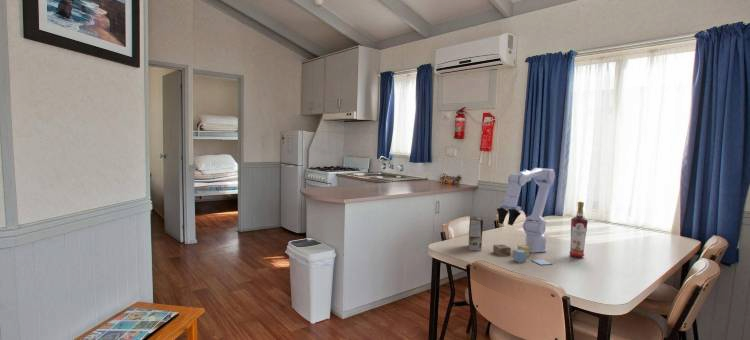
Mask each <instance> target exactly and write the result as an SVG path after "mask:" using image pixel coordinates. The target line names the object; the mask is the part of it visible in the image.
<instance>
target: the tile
mask: <svg viewBox="0 0 750 340" xmlns="http://www.w3.org/2000/svg"><path fill="white" fill-rule="evenodd" d="M530 261H531V262H533V263H534V264H537V265H539V266H551V265H553V264H554V263H551V262H549V261H547V260H545V259H543V258H542V259H531V260H530Z"/></svg>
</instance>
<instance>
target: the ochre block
mask: <svg viewBox="0 0 750 340" xmlns="http://www.w3.org/2000/svg"><path fill="white" fill-rule="evenodd" d="M517 250H524V251H526V252H527V258H528V257H530V252H529V251H530V247H529V246H526V244H518V245H517Z"/></svg>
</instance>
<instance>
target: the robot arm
mask: <svg viewBox="0 0 750 340" xmlns="http://www.w3.org/2000/svg"><path fill="white" fill-rule="evenodd" d="M555 178H556V173H555V170H554V169H553V168H541V167H533V168H532V169H531V170H527V169H523V170H522V171H518V172H517V173H513V172H512V173H510V174H509V175H508V177H507V190H506V191H507V192H506V196H505V199H504V203H501V204H499V205H498V208H496V211H497V214H498V224H500V225H503V224H504V222H505V219H506V217H507V215H508V220H507V224H508V225H509V226H513V225H514V223H515V221H516V220H517V218H518V217H519V216H521V215H522V212H521V210H522V207H521V206H519V205H518V202H519V198H520V193H521V190H522V187H523V186H525V184H526V183H528V182H530V181H531V180H532V179H533V180H534V182H535V184H536V185H537V186H539V187H538V191H537V194H536V197H535V202H534V205H533V208H532V212H531V214H530V215H528V216H526V218H525V220H524V222H523V223H522V230H523V231H524V233H525V245H526V246H529V247H530V251H529V253H531V254H532V253H535V254H536V253H547V250H546V245H547V243H546V242H547V241H546V240H547V238H546V236H545V235H544V234H545V232H546V225H547V222H546V220H545V219H544V218H543V215H544V212H545V207H546V203H547V200H548V195H549V192H550V188H551V187H553V186H554V183H555Z"/></svg>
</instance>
